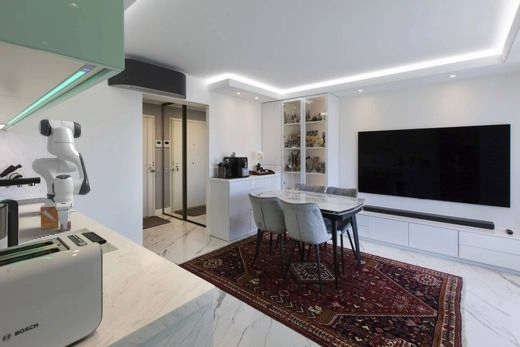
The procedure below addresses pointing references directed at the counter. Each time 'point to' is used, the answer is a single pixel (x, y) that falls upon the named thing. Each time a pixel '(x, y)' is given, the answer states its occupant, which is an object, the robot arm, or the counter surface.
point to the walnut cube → (67, 227)
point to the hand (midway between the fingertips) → (65, 227)
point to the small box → (49, 217)
